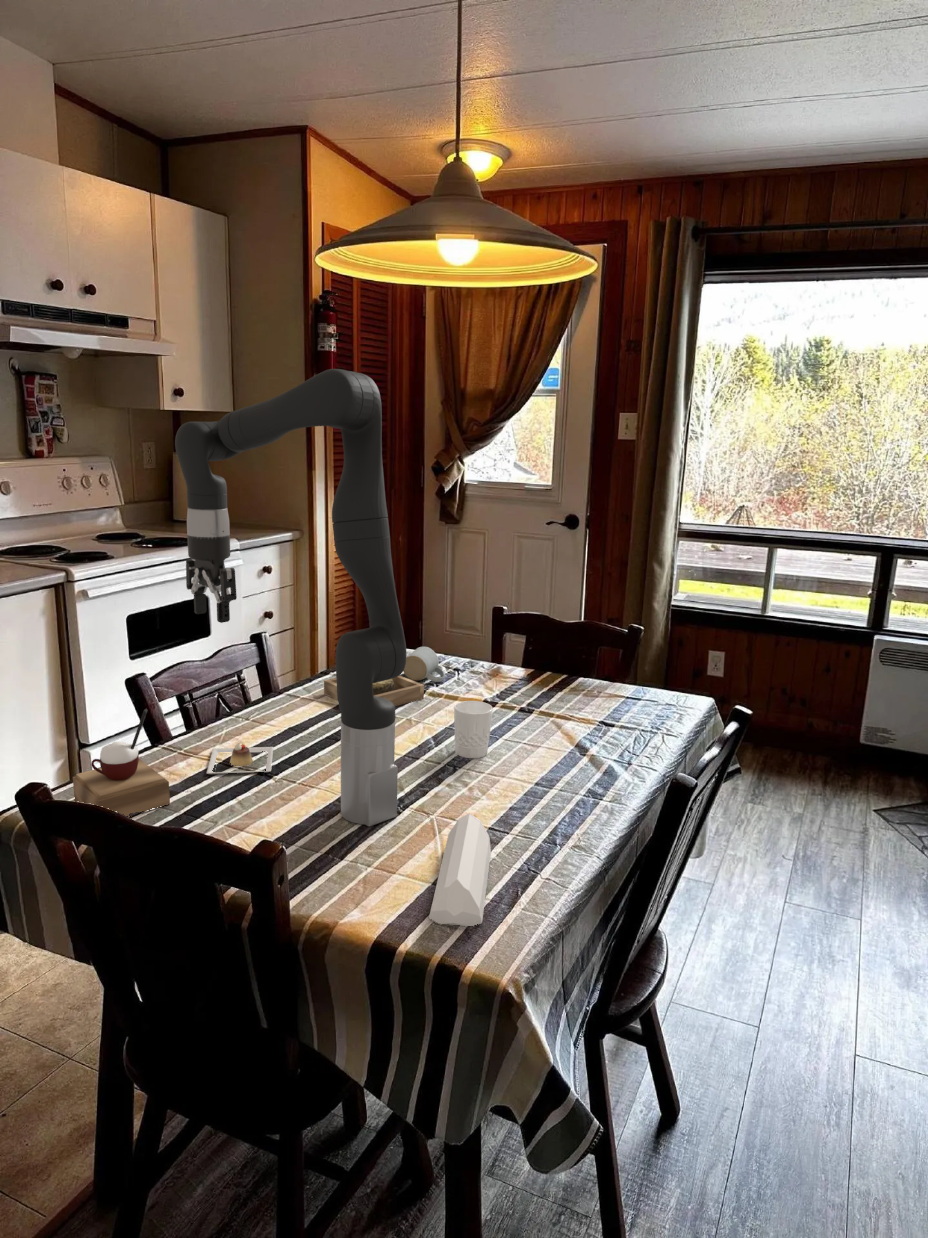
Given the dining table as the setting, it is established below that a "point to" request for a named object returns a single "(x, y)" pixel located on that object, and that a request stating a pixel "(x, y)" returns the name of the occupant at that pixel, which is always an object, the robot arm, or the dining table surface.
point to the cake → (383, 687)
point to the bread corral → (401, 695)
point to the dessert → (240, 757)
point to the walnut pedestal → (123, 790)
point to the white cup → (472, 728)
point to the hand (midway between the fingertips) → (211, 617)
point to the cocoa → (120, 758)
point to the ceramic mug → (423, 665)
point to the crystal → (463, 875)
